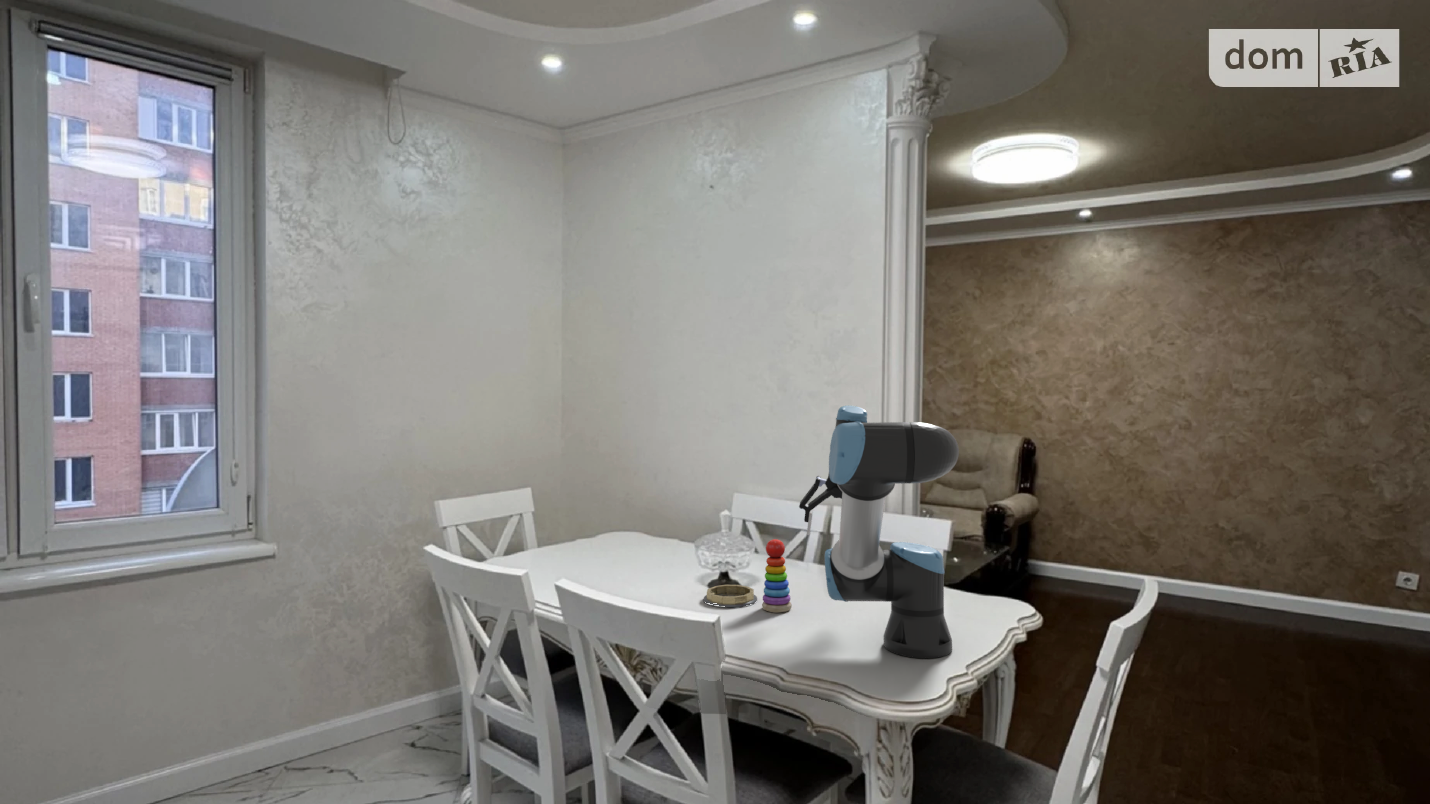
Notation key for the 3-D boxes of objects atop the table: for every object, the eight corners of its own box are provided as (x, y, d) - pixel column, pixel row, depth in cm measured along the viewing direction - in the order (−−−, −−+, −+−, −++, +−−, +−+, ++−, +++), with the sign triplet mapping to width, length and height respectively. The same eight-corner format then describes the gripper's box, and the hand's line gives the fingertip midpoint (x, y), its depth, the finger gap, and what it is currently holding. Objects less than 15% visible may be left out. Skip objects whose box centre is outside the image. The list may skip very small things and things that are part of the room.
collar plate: (756, 608, 205) (756, 598, 205) (701, 607, 206) (701, 598, 206) (757, 593, 220) (757, 584, 220) (706, 592, 221) (706, 583, 221)
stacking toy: (796, 607, 205) (796, 538, 204) (783, 615, 198) (782, 544, 198) (770, 603, 209) (770, 535, 209) (756, 610, 202) (756, 541, 202)
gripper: (893, 467, 197) (881, 539, 204) (798, 451, 202) (789, 522, 209) (893, 478, 190) (880, 552, 197) (795, 462, 195) (785, 535, 202)
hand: (833, 537), depth 203 cm, fingers open, 13 cm apart
